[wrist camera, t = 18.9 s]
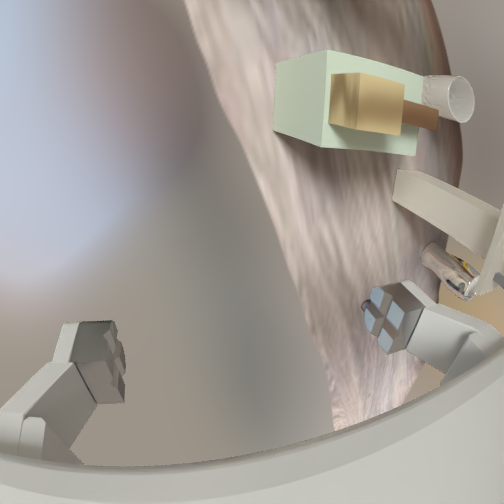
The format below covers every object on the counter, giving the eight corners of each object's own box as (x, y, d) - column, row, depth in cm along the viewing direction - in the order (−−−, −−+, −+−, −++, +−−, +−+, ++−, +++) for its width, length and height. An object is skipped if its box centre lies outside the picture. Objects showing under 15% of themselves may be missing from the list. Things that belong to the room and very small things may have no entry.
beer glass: (425, 239, 59) (472, 275, 46) (442, 240, 61) (487, 272, 48) (415, 267, 62) (458, 305, 49) (433, 266, 64) (474, 300, 51)
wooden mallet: (331, 74, 24) (360, 72, 20) (424, 97, 28) (456, 102, 23) (328, 123, 27) (356, 129, 23) (420, 137, 30) (451, 146, 26)
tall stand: (382, 150, 46) (533, 220, 21) (428, 157, 49) (558, 219, 24) (372, 215, 52) (497, 313, 27) (417, 214, 55) (530, 294, 29)
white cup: (404, 108, 43) (445, 116, 35) (408, 67, 40) (450, 69, 31) (432, 117, 45) (472, 127, 37) (436, 79, 42) (476, 84, 33)
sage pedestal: (275, 63, 36) (327, 49, 23) (355, 75, 39) (423, 76, 26) (272, 130, 41) (321, 147, 28) (350, 135, 44) (415, 156, 31)
